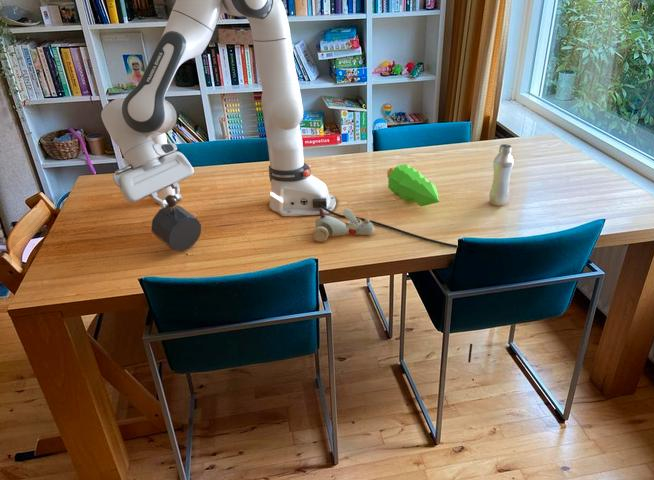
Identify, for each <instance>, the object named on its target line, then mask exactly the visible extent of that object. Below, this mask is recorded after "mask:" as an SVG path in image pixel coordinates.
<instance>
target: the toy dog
mask: <svg viewBox="0 0 654 480" xmlns="http://www.w3.org/2000/svg"><path fill="white" fill-rule="evenodd" d="M319 212H320V216H318V217H317V218H316V220H315V228H314V229H313V231H312V235H313V239H314V240H315V241H317V242H320V243H323V242H326V241H327V240H328V238H329V237H339V236H345V235H348V234H349V235H351V236H354V235H359V236H371V235H373V234H374V232H375V226H374V224H373V223H371V222H369V220H370V219H369V218H364V219H365V221H362V220H360V219H358V218H356V217H357V216H356V215H355V214H354V212H353V210H352V209H350V208H344V210H343V212H342V213H343V214H342V215H344V216H345V217H346V218H345V219H347V220H348V221H346V222H343V221H341V220H340V219H338V218H336V217H334V216H331V215H326V214H324V212H323V210H322V209H321V208H320V209H319Z"/></svg>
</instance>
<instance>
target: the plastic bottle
mask: <svg viewBox="0 0 654 480" xmlns="http://www.w3.org/2000/svg"><path fill="white" fill-rule="evenodd" d="M511 153H512V145H510V144H505V143H504V144H500V145H499V149H498V154H497V155H496V156H495V157H494V159H493V164H492V165H493V175H492V176H493V178H492V184H491V189H490V191H489V195H488V199H489V202H490V203H491V204H492V205H494V206H504V205H506V204H507V203H508V202H509V198H510V179H511V174H512V170H513V167H514V158H513V156H512V155H511Z"/></svg>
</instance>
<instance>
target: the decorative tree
mask: <svg viewBox="0 0 654 480" xmlns="http://www.w3.org/2000/svg"><path fill="white" fill-rule="evenodd" d="M386 171H387V172H386V174H387V175H386V177H387V178H388V181H387V182H388V183H387V184H388V185H387V187H388V189H389V190H390V191H391V192H392V193H393V194H395V195H397V196H398V197H399V198H400V199H402V200H403V201H404V202H405V203H411V202H412V203H415V204H417V205H418V206H419V207H421V208H422V207H425V206H430V205H434V204H436V203H440V199H439V198H440V197H439V193H438V190H437V186H436V185H435V184H434V183H432V181H429V180H428V179H427V178H426V177H425V176H424V175H423V174H422V173H421V172H420V171H417V170H416V169H415V168H414V167H411V166H410V165H409V164H408V163H405V164H400V165H396V166H395V167H390V168H389V169H388V170H386Z"/></svg>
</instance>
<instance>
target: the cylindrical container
mask: <svg viewBox="0 0 654 480" xmlns="http://www.w3.org/2000/svg"><path fill="white" fill-rule="evenodd" d="M152 140H153V142H154V143H155V144H167V143H168V139H167V133H164V134H160V135H157V136H154V137H153V138H152ZM157 194H158V196H157V197H158V198H160V199H161V200H165V198H166V197H167V196H168V195H173V196H174V195H175V189H172V187H171V186H170V187H167V188H165V189H163V190H161V191H159V192H157ZM178 202H179V201H177V203H178ZM157 204H159V203H157ZM159 205H160V204H159Z"/></svg>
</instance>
